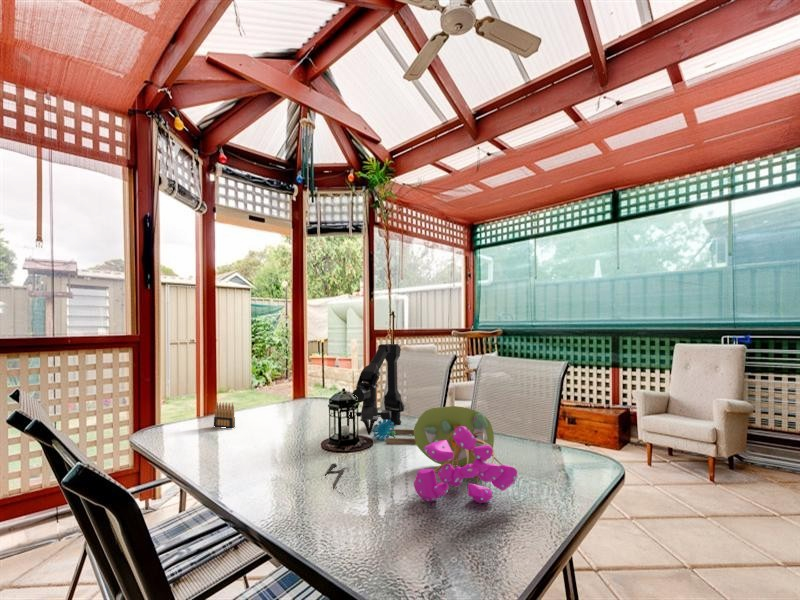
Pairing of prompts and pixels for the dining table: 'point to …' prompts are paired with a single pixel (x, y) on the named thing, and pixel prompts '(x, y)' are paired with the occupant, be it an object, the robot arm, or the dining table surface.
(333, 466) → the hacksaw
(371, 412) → the robot arm
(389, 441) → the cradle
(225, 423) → the ammunition clip
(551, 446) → the dining table surface
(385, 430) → the blue flower
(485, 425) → the pink berry cluster
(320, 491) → the dining table surface
